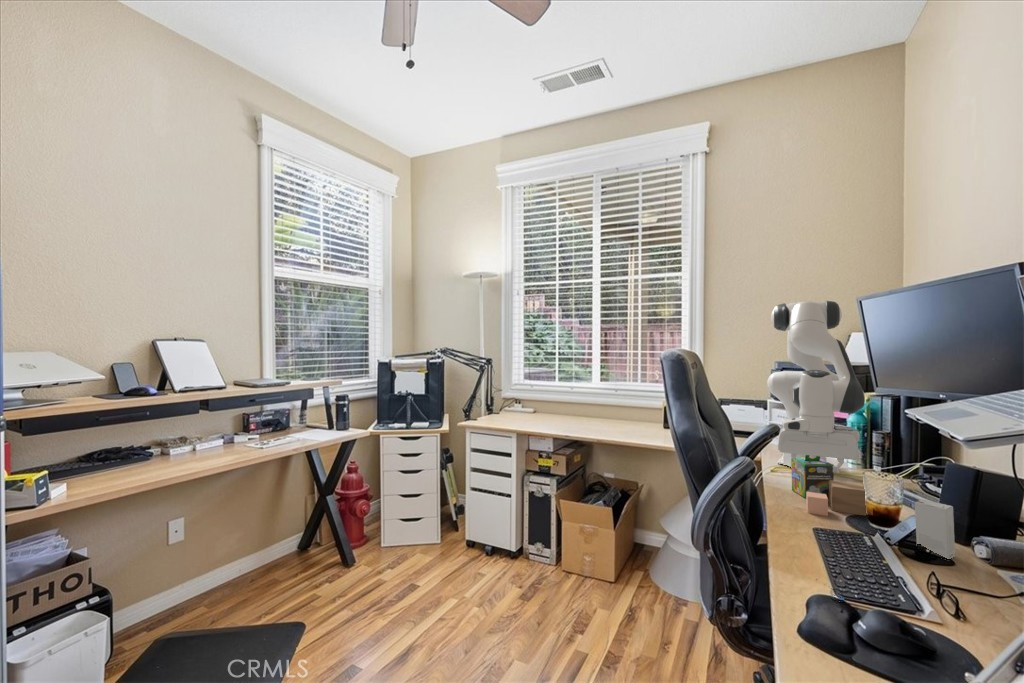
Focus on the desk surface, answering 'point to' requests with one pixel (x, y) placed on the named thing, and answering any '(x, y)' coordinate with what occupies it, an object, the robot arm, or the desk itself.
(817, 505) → the cube
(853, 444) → the robot arm
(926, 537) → the skincare box
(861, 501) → the block
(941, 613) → the desk surface
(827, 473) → the chalk box
